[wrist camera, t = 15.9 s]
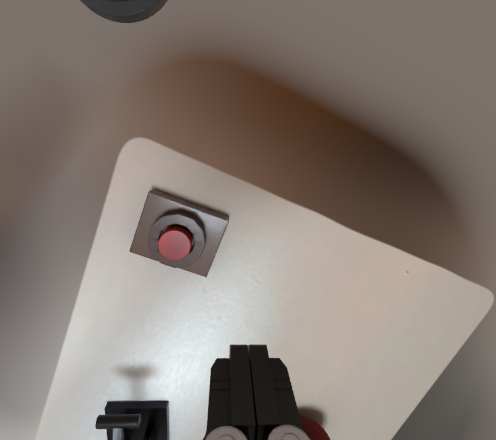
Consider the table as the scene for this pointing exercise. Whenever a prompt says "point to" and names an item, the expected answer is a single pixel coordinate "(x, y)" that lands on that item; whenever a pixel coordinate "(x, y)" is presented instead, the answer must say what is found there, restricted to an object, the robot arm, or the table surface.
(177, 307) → the table surface
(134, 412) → the lever stand
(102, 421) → the black lever
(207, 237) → the control block
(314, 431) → the apple
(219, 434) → the robot arm
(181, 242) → the button
